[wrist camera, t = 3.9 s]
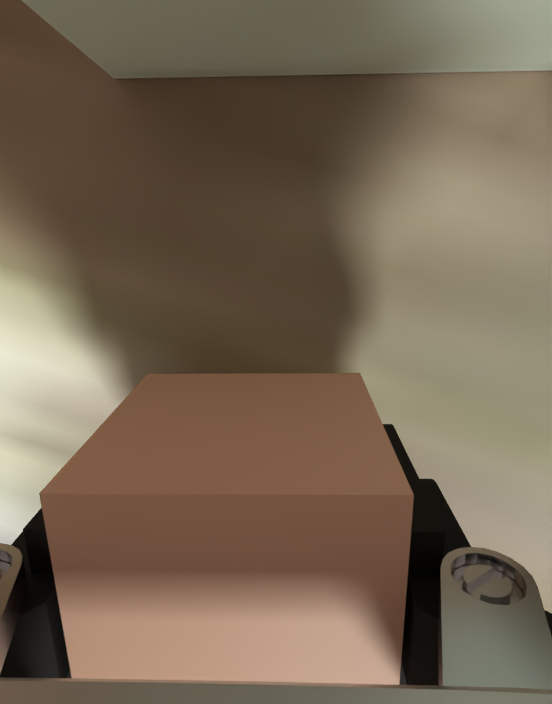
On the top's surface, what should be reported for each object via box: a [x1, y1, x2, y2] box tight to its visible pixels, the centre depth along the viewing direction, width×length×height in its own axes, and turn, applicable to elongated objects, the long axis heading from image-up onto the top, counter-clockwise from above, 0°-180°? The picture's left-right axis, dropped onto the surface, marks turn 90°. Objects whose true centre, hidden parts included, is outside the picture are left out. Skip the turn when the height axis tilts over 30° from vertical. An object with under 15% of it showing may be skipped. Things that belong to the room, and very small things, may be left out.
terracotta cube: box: [39, 373, 414, 685], centre depth 9 cm, size 5×5×5 cm
